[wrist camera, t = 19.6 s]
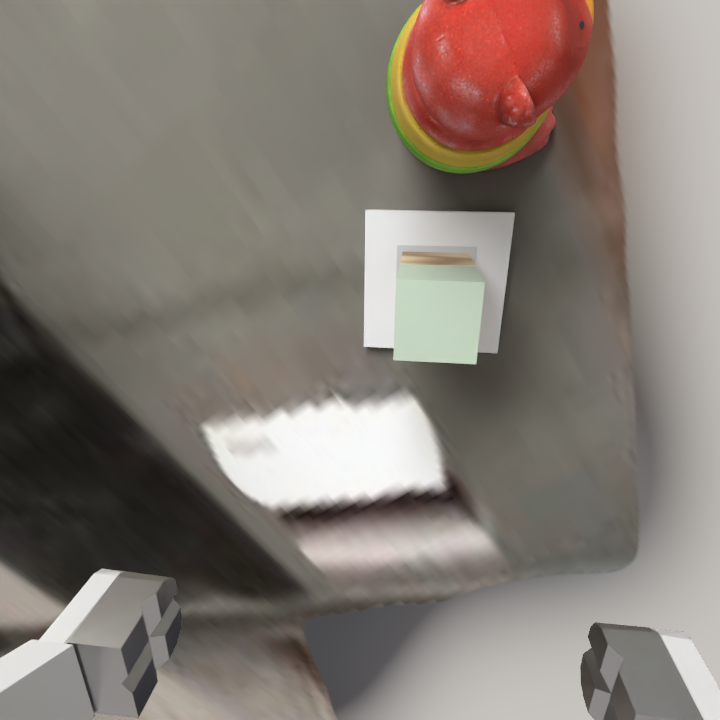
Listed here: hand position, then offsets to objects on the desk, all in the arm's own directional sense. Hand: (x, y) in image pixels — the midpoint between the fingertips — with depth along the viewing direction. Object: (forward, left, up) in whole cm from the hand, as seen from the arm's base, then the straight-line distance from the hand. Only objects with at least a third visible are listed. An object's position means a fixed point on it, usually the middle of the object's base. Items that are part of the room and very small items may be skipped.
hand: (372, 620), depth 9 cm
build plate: (+2, 0, -31) cm, 31 cm away
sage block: (+2, 0, -25) cm, 25 cm away
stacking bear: (+3, +13, -31) cm, 34 cm away
